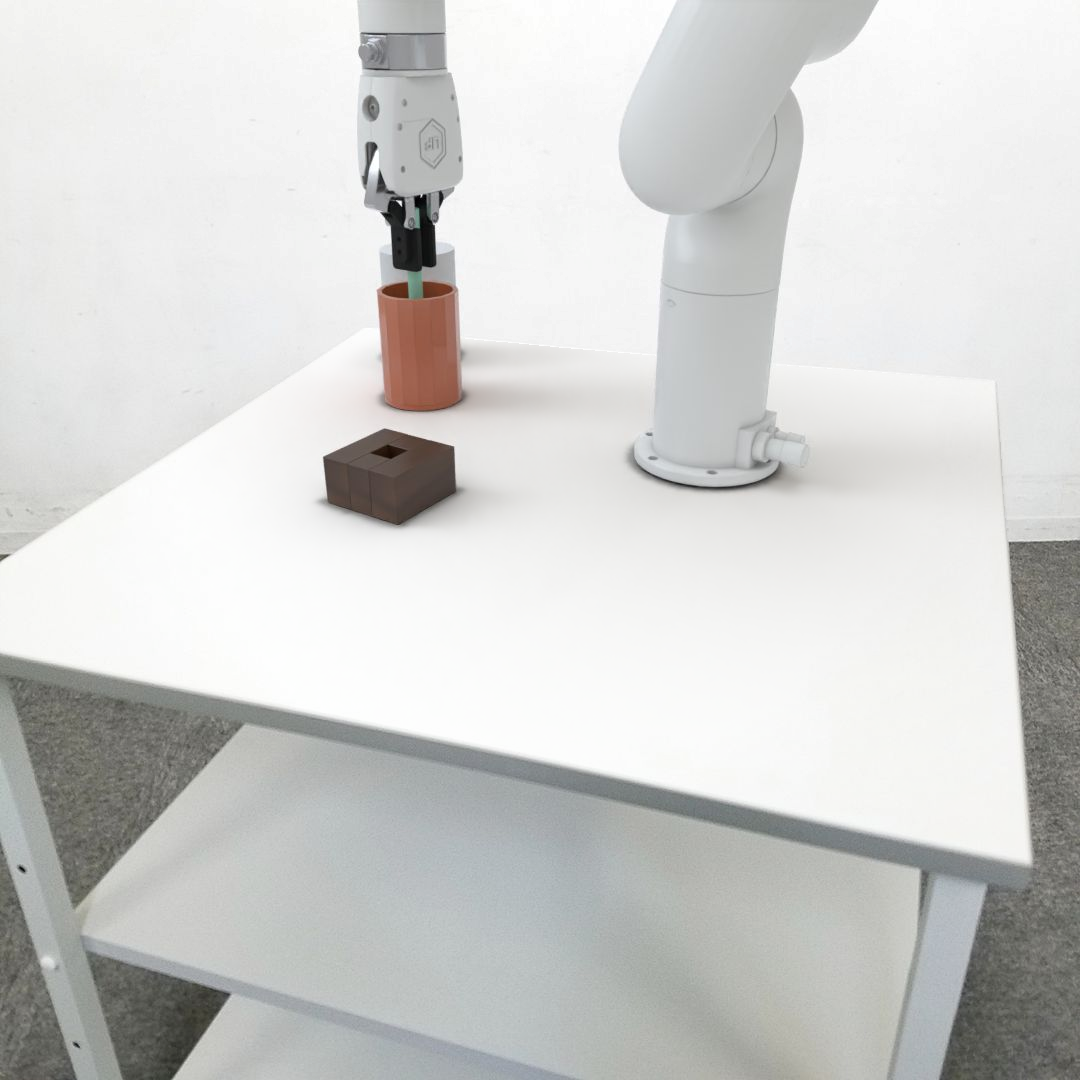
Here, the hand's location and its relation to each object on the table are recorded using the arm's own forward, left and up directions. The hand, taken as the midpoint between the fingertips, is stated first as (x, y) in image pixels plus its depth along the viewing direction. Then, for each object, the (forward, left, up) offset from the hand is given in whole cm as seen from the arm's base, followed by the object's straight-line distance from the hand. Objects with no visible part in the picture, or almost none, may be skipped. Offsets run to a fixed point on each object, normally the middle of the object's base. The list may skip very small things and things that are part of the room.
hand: (414, 266), depth 99 cm
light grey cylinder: (+9, -11, -13) cm, 19 cm away
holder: (-13, +20, -13) cm, 27 cm away
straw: (0, 0, -9) cm, 9 cm away
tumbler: (0, 0, -13) cm, 13 cm away
